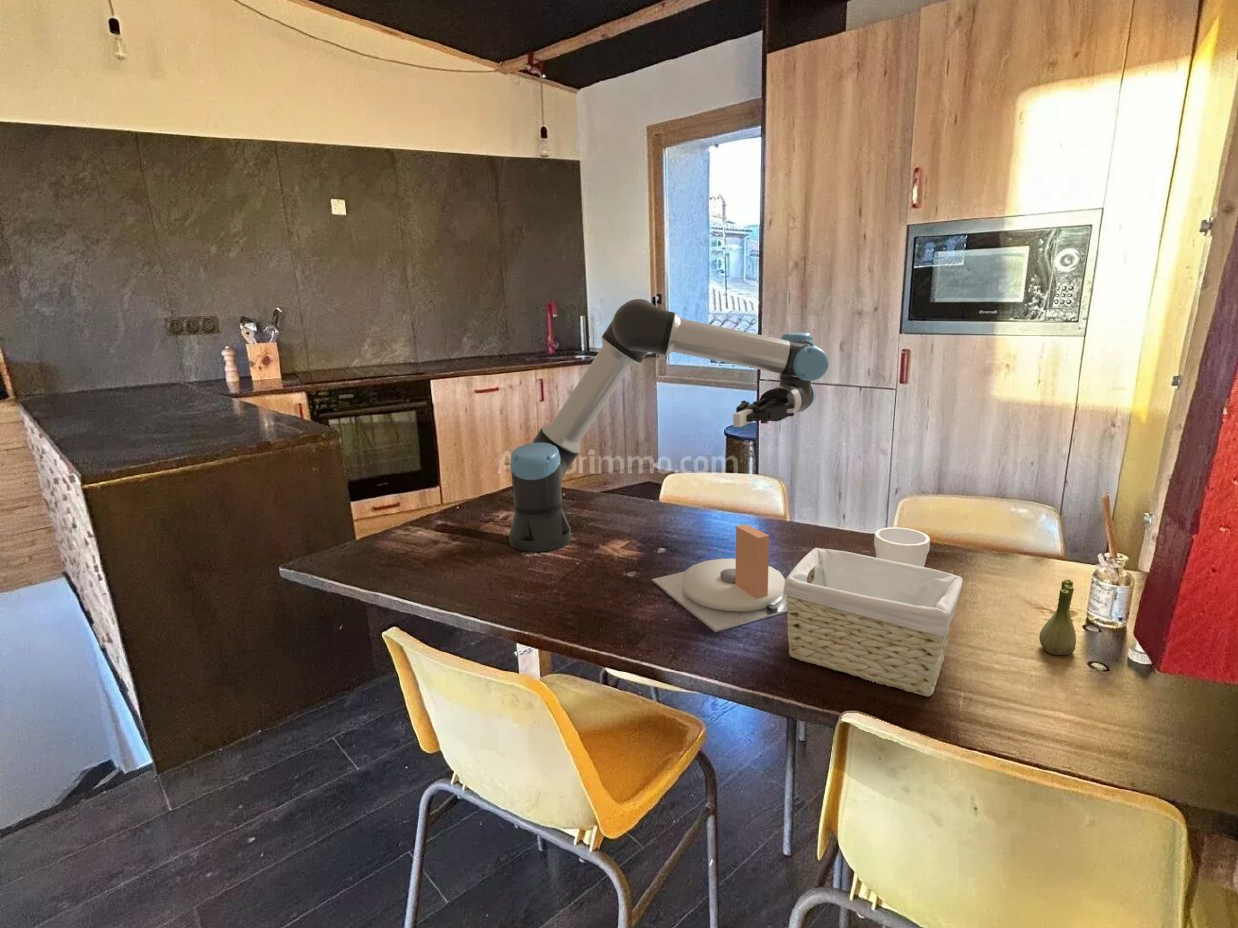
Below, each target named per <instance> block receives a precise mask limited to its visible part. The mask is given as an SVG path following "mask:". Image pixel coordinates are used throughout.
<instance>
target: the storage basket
mask: <svg viewBox="0 0 1238 928" xmlns="http://www.w3.org/2000/svg"><path fill="white" fill-rule="evenodd" d="M785 579H786V580H785V585H784V590H783V592H784V594H785V595H786V596H787V597H786V600H787V603H786V606H787V610H788V612H787V638H788V639H787V641H788V654H789V656H790V657H791V658H794V659H797V660H799V661H802V662H805V663H809V664H815V665H817V666H819V667H821V666H822V667H824V668H827V669H830V670H833V671H838V672H842V673H845V674H849V675H850V676H853V677H859V678H861V679H863V680H866V681H868V680H869V682H871V681H872V682H871V683H874V682H876V683H875V684H878V683H879V684H878V685H885V686H887V687H893V688H897V689H900V690H903V691H905V692H909V693H913V694H917V695H920V696H924V697H931V696H932V695H933V694H934V692H935V687H936V685H937V681H938V679H939V677H940V672H941V669H942V665H943V663H944V661H945V657H944V656H945V654H946V649H947V645H948V638H949V634H950V632H951V627H950V626H951V624H952V623H953V619H954V613H955V611H956V607H957V606H958V602H959V599H960V594H961V591H962V586H963V578H962V577H961V576H960V575H955V574H953V573H950V572H946V571H943V570H938V569H935V568H934V569H933V568H930V567H925V566H924V567H921V566H916V565H911V564H906V563H900V562H895V561H890V560H885V559H879V558H876V557H874V556H870V555H869V556H868V555H864V554H860V553H854V552H852V551H851V552H849V551H845V550H838V549H837V550H835V549H829V548H819V547H814V548H813V549H812V550H811V551H809V552H808V553H807V554H806V555H805V556H803V558H802V559H800V561H798V563H797V564H796V565H795V566H794V568H793V569H792V570H791V572H790V573H789V574H788V575H787V577H786V578H785Z"/></svg>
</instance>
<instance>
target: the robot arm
mask: <svg viewBox="0 0 1238 928" xmlns="http://www.w3.org/2000/svg"><path fill="white" fill-rule="evenodd" d="M601 342H602V343H601V344H602V347H601V348H600V350H599V351H598V352H597V354H596V355H595V357H594V359H593V360H592V362H591V363H590V364H589V366H588V367H587V369H586V371H585V373H584V374H583V376H581V378H580V380H579V381H578V383H577V385H576V386H575V387H574V388H573V390H572V392H571V393H570V395H569V396H568V397H567V400H566V401H565V403H564V404H563V405H562V407H561V409H560V410H559V412H558V413H557V414H556V416H555V417H554V419H553V421H551V423H550V424H544V425H542V426H541V428H540V429H539V431H538V432H537V434H536V435H535V437H534V438H533V440H532V442H529V443H525V444H523V445H519V446H518V447H516V448H515V449H513V451H511V455H510V462H509V466H510V473H511V485H512V486H511V487H512V498H513V499H512V500H513V510H514V512H513V513H514V514H513V518H512V521H511V525H510V530H509V532H508V533H509V534H508V537H509V539H508V540H509V545H510V546H511V547H512V548H513V549H515V550H518V551H522V552H528V553H529V552H530V553H531V552H532V553H533V552H535V553H536V552H538V553H539V552H547V551H554V550H556V549H560V548H563V547H564V546H566V545H569V543H570V542H571V541H572V530H571V526H570V525H569V522H568V520H567V517H566V514H565V512H564V508H563V495H562V493H563V491H562V480H563V479H564V476H565V474H566V473H567V472H568V470H569V469H570V467H571V465H572V464H573V462H574V461H575V459H576V458H577V457H578V455H579V453H580V452H581V446H580V442H581V441H582V440H583V438H584V437H585V435H586V433H587V432H588V430H589V429H590V427H591V426H592V424H593V423H594V421H595V420H596V418H597V417H598V416H599V414H600V412H601V410H603V409H604V406H605V405H606V404H607V402H608V401H609V399H610V398H611V397H612V395H613V393H614V392H615V391H616V389H617V387H618V386H619V385H620V383H621V382H622V380H624V377H625V376H626V374H627V373H628V372H629V371H630V368H631V367H632V366H637V365H640V364H641V363H642V362H643V360H644V359H645V357H646V356H647V355H648V353H653V354H660V355H664V356H668V355H670V354H671V353H678V354H683V355H687V356H691V357H696V358H702V359H707V360H711V361H715V362H716V361H717V362H722V363H725V364H726V363H727V364H732V365H737V366H741V367H746V368H752V369H755V370H760V371H765V372H771V373H774V374H779V385H778V386H776V387H774V388H771V389H769V390H767V391H765V392H763V394H762V395H761V397H760V398H759V399H758V400H756V401H753V402H752V403H750V401H747V400H741V403H740V404H739V405H738V406H737V407H736V409H735V410H736V411H735V412H734V413H733V414H732V417H733V418H732V427H734V428H741V427H744V426H746V425H748V424H751V423H753V422H757V423H758V422H760V421H762V422H764V423H766V422H780V421H782V420H786V418H789V417H795V414H797V413H800V412H801V413H802V412H803V411H805V410H807V409H808V408H810V406H812V405H813V403H814V402H815V400H816V395H817V394H816V389H815V387H814V385H813V383H812V382H813V381H817V380H819V379H821V378H823V376H824V375H825V374H826V372H827V370H828V368H829V364H830V363H829V362H830V361H829V357H828V355H827V353H826V352H825V351H824V350H823V349H822V348H820V347H819V346H816V345H814V340H813V335H812V333H809V332H787V333H783V334H782V335H781V337H780V338H777V337H772V336H767V335H764V334H763V335H761V334H757V333H752V332H748V331H743V330H738V329H733V328H729V327H723V326H719V325H715V324H709V323H704V322H699V321H695V320H691V319H686V318H680V316H679V315H678V314H677V312H676V311H669V310H666V309H662V308H660V307H657V306H655V305H654V304H653V303H652V302H650V301H649V300H647V299H642V298H635V299H631V300H628V301H627V302H625V303H624V304H622V305H621V306H620V307H619V308H618V309H617V310H616V312H615V314H614V315H613V318H612V320H611V322H610V323H609V324H608V326H607V327H606V330H605V331H604V333H603V334H602V336H601Z"/></svg>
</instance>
